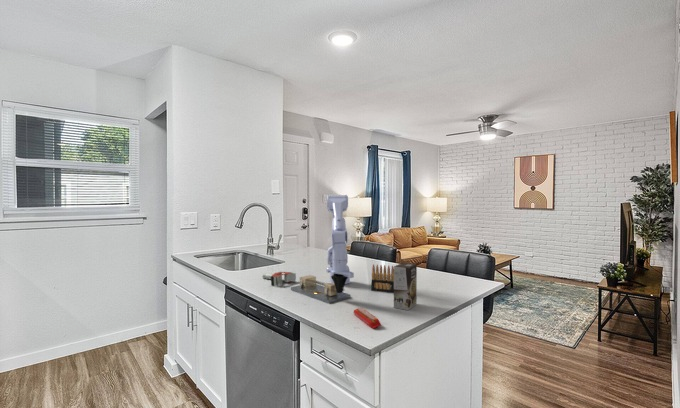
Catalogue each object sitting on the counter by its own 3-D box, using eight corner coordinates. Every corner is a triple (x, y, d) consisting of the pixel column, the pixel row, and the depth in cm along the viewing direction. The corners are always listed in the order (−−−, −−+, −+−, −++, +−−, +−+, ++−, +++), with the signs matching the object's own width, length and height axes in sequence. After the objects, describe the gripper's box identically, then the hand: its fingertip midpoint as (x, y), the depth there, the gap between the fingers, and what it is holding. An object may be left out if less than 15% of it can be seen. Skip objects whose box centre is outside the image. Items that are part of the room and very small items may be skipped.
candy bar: (352, 314, 123) (351, 306, 123) (361, 313, 124) (361, 305, 124) (372, 331, 108) (372, 321, 108) (382, 329, 109) (382, 320, 109)
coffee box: (409, 310, 126) (409, 267, 125) (393, 307, 129) (393, 266, 129) (417, 304, 133) (417, 263, 133) (402, 301, 137) (401, 261, 136)
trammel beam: (310, 283, 160) (310, 275, 160) (345, 294, 142) (345, 284, 142) (298, 286, 156) (298, 277, 155) (333, 298, 138) (332, 287, 138)
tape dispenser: (263, 281, 178) (259, 289, 158) (262, 271, 178) (258, 277, 158) (296, 278, 180) (296, 285, 161) (296, 268, 181) (296, 274, 161)
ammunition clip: (371, 290, 152) (370, 264, 152) (372, 289, 154) (372, 263, 154) (394, 293, 148) (394, 266, 148) (395, 292, 150) (395, 265, 150)
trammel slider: (331, 292, 145) (331, 282, 145) (337, 294, 142) (337, 284, 142) (323, 294, 142) (323, 284, 142) (329, 296, 139) (329, 286, 139)
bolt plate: (311, 285, 162) (311, 282, 162) (350, 297, 142) (350, 294, 142) (290, 289, 154) (290, 287, 154) (329, 303, 134) (328, 300, 134)
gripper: (320, 258, 140) (321, 290, 141) (344, 263, 130) (344, 298, 130) (333, 256, 145) (333, 287, 146) (357, 260, 134) (357, 294, 135)
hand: (339, 292), depth 138 cm, fingers closed
